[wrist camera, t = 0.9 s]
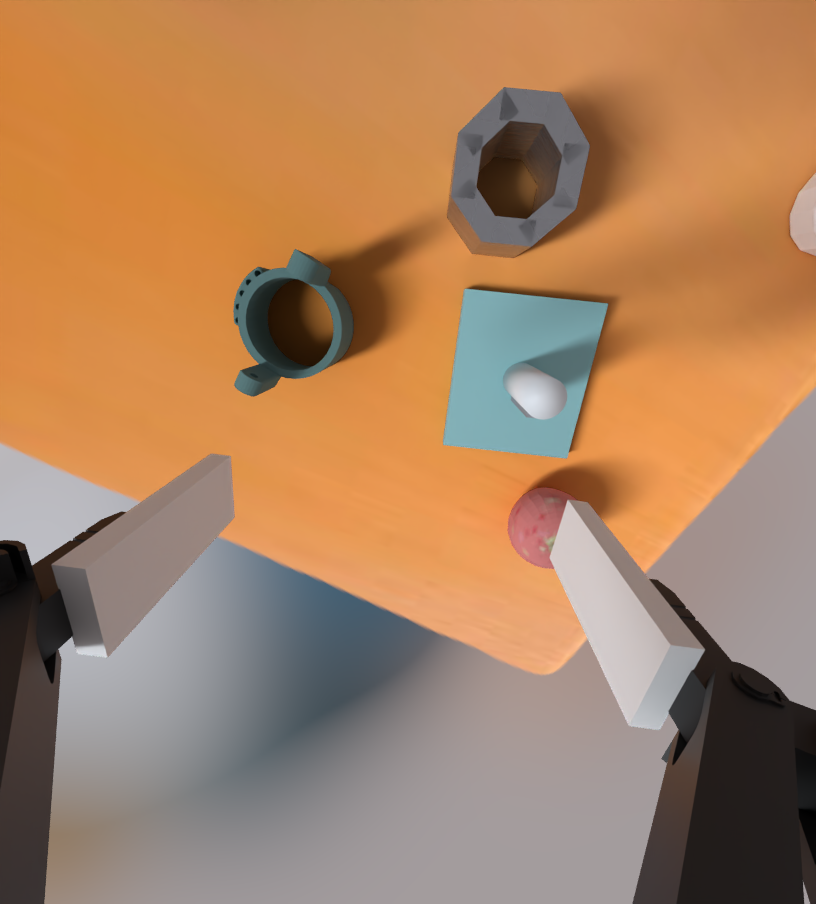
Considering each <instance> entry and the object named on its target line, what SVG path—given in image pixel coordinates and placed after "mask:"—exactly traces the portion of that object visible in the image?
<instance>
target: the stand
mask: <svg viewBox="0 0 816 904" xmlns="http://www.w3.org/2000/svg"><path fill="white" fill-rule="evenodd" d="M607 307H608V303H598V302H589V301H579V300H569V299H560V298H550V297H540V296H531V295H521V294H511V293H502V292H492V291H482V290H473V289H464V293H463V300H462V308H461V315H460V322H459V329H458V337H457V344H456V351H455V358H454V365H453V373H452V380H451V387H450V394H449V401H448V409H447V416H446V423H445V430H444V438H443V445H449V446H458V447H467V448H476V449H485V450H494V451H504V452H513V453H522V454H531V455H540V456H549V457H558V458H567V456H568V453H569V449H570V445H571V442H572V438H573V434H574V430H575V427H576V423H577V419H578V415H579V412H580V408H581V404H582V400H583V397H584V393H585V389H586V385H587V382H588V378H589V374H590V370H591V367H592V363H593V359H594V355H595V352H596V348H597V344H598V341H599V337H600V333H601V329H602V326H603V322H604V318H605V314H606V311H607Z"/></svg>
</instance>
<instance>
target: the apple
mask: <svg viewBox="0 0 816 904" xmlns="http://www.w3.org/2000/svg"><path fill="white" fill-rule="evenodd" d="M568 500H575V501H578V500H577V499H575V498H574V497H573V496H571V495H569V494H567V493H565V492H563V491H560V490H557V489H553V488H547V487H544V488H536V489H533V490H531V491H529V492H527V493H526V494H524V495H523V496H522V497H521V498H520V499H519V500H518V501H517V502H516V504H515V505H514V507H513V508H512V511H511V513H510V516H509V520H508V534H509V537H510V540H511V544H512V546H513V547H514V549H515V550H516V551H517V553H518V554H519V555H520V556H521V557H522V558H523V559H525V560H526V561H528V562H529V563H531V564H533V565H535V566H539V567H542V568H551V569H554V566H553V564H552V562H551V560H550V555H551V551H552V548H553V545H554V542H555V539H556V536H557V532H558V529H559V526H560V523H561V520H562V517H563V513H564V510H565V507H566V504H567V501H568Z"/></svg>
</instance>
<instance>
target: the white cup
mask: <svg viewBox="0 0 816 904" xmlns="http://www.w3.org/2000/svg"><path fill="white" fill-rule="evenodd" d="M790 236H791V238H792V239H793V241H794V242H795V244H796V245H797V247H798V248H799V250H801V251H803V252H806V253H809V254H811V255H814V256H816V173H815V174H814V175H813V176H812V177H811V178H810V180H809V181H808V182H807V183H806V184H805V186H804V187H803V188H802V189H801V190H800V192H799V193H798V195H797V198H796V200H795V203H794V205H793V208H792V210H791V213H790Z"/></svg>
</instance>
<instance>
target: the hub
mask: <svg viewBox="0 0 816 904" xmlns="http://www.w3.org/2000/svg"><path fill="white" fill-rule="evenodd" d="M589 148H590V145H589V143H588V141H587V139H586V137H585V136H584V134H583V132H582V130H581V128H580V127H579V125H578V123H577V121H576V119H575V118H574V116H573V114H572V112H571V110H570V109H569V107H568V105H567V103H566V101H565V100H564V98H563V96H562V94H561V93H558V92H548V91H537V90H527V89H517V88H506V87H504V88H503V89H502V90H501V91H500V92H499V93H498V94H497V95H496V96H495V97H494V98H493V99H492V100H491V101H490V102H489V103H488V104H487V105H486V106H485V107H484V108H483V109H482V110H481V111H480V112H479V113H478V114H477V115H476V116H475V117H474V118H473V119H472V120H471V121H470V122H469V123H468V124H467V125H466V126H465V127H464V128H463V129H462V130H461V131H460V132H459V133H458V138H457V144H456V150H455V156H454V162H453V169H452V178H451V187H450V195H449V204H448V212H447V218H448V220H449V221H450V222H451V224H452V225H453V227H454V228H455V230H456V231H457V233H458V234H459V236H460V237H461V238H462V240H463V241H464V243H465V244H466V246H467V247H468V249H469V250H470V252H471V253H472V254H479V255H488V256H498V257H508V258H514V257H516V256H517V255H519V254H521V253H522V252H524V251H525V250H527V249H529V248H530V247H532V246H533V245H534V244H535V243H536V242H538V241H539V240H540V239H541V238H542V237H543V236H545V235H546V234H547V233H548V232H549V231H551V230H552V229H553V228H554V227H555V226H557V225H558V224H559V223H560V222H561V221H562V220H564V219H565V218H566V217H567V216H568V215H570V214H571V213H572V212H573V211H574V210H576V207H577V203H578V198H579V194H580V189H581V184H582V180H583V175H584V171H585V166H586V162H587V157H588V153H589ZM494 157H498V158H508V159H518V160H522V161H523V162H524V164H525V166H526V167H527V169H528V171H529V172H530V174H531V176H532V177H533V179H534V181H535V182H536V184H537V189H536V194H535V200H534V205H533V210H532V215H531V216H530V217H529V218H527V219H521V218H511V217H501V216H495V215H494V214H493V212H492V210H491V209H490V207H489V206H488V204H487V203H486V201H485V200H484V198H483V197H482V195H481V194H480V192H479V191H478V189H477V187H476V186H477V179H478V172H479V171H480V170H481V169H482V168H483V167H484V166H485V165H487V164H488V163H489V162H490V161H491V160H492V159H493V158H494Z"/></svg>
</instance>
